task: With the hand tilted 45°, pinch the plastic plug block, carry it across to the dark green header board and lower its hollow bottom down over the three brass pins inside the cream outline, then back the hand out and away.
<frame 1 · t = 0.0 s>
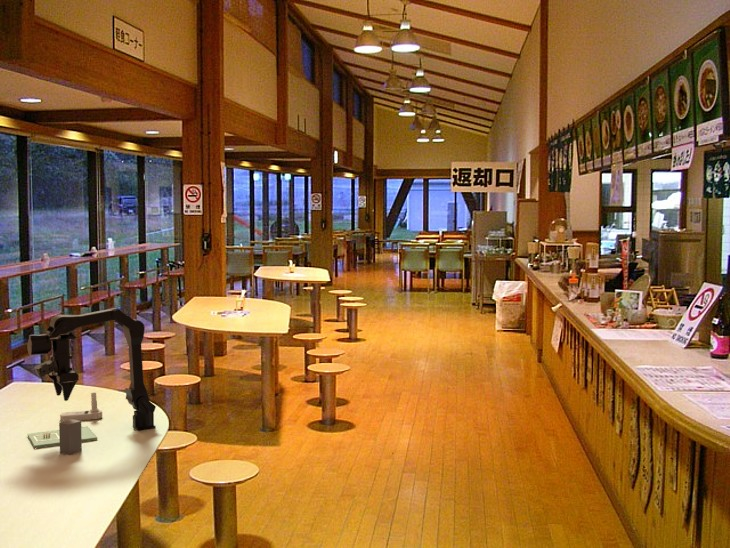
hand: (62, 398, 270), 15 cm above the table, tool pointing down, fingers open, 9 cm apart
beige bar with post: (81, 419, 299), on the table
plug block: (70, 452, 258), on the table
header board: (46, 440, 271), on the table
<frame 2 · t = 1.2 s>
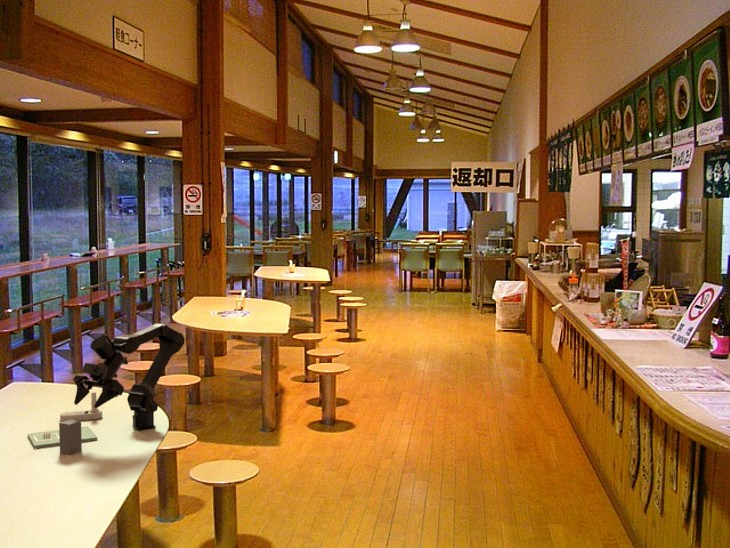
hand: (85, 405, 262), 14 cm above the table, tool tilted 45°, fingers open, 9 cm apart
nothing on the table moved.
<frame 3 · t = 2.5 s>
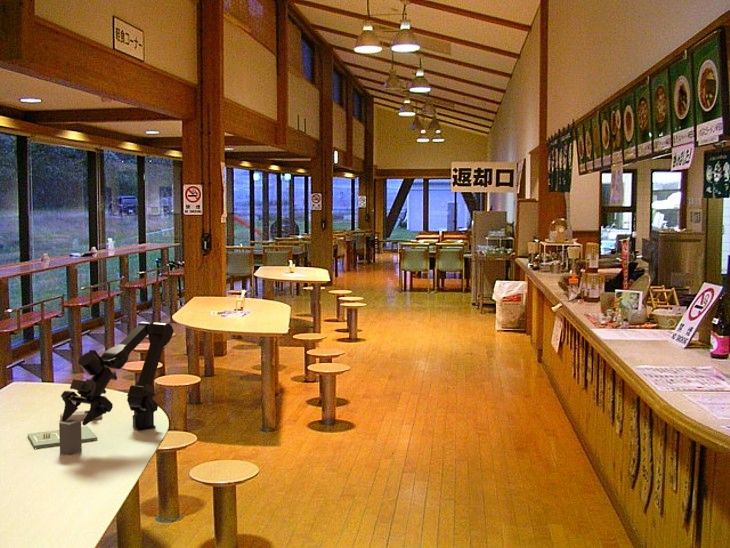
hand: (72, 423, 258), 9 cm above the table, tool tilted 45°, fingers open, 9 cm apart
nothing on the table moved.
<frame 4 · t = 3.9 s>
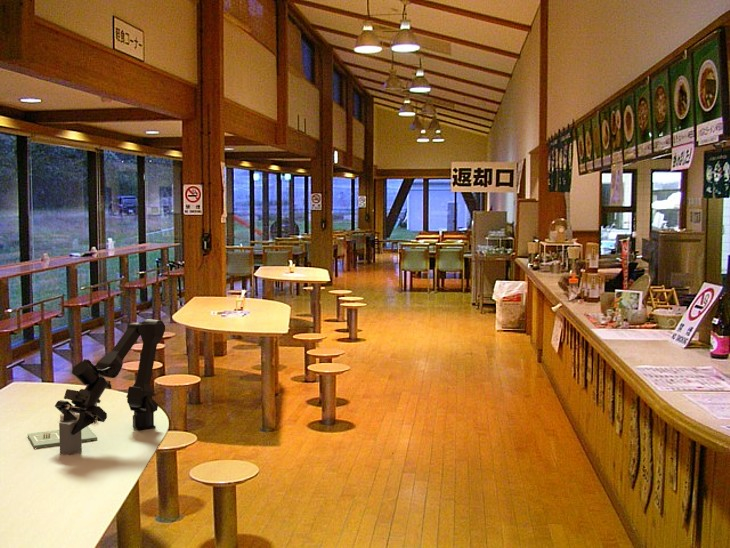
hand: (67, 433, 256), 7 cm above the table, tool tilted 45°, fingers closed on plug block, 4 cm apart
plug block: (70, 452, 258), on the table, touching gripper
everything else where it was.
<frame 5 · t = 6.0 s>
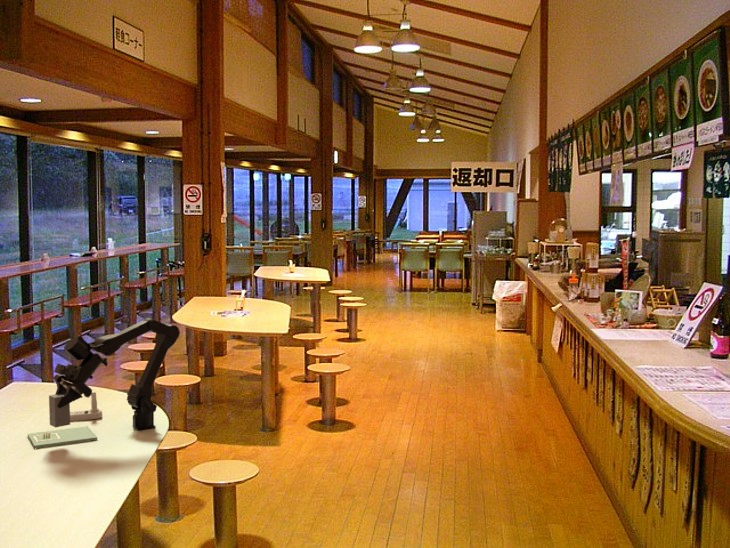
hand: (55, 406, 264), 13 cm above the table, tool tilted 45°, fingers closed on plug block, 4 cm apart
plug block: (60, 424, 265), point 7 cm above the table, touching gripper
everything else where it was.
when the fingers open (8 cm above the table, at t = 8.5 s): plug block stays where it is, resting on header board.
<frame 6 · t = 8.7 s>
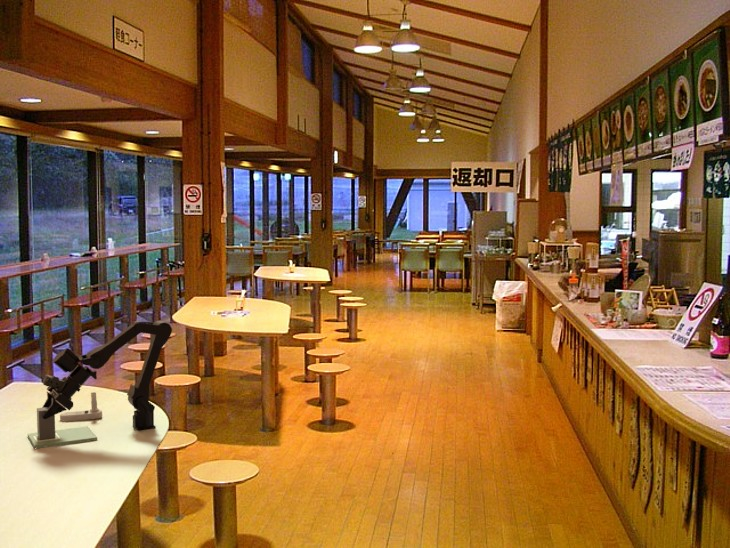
hand: (41, 416, 269), 9 cm above the table, tool tilted 45°, fingers open, 6 cm apart
plug block: (46, 437, 270), point 1 cm above the table, touching header board
everything else where it was.
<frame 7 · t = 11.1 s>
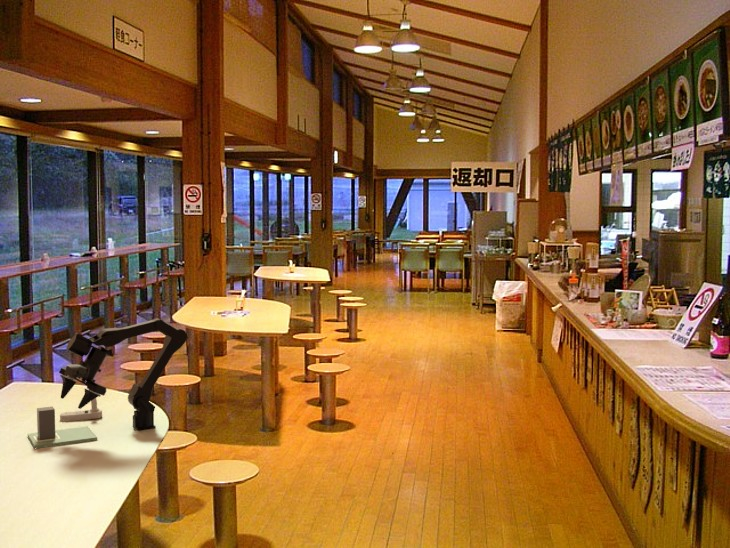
hand: (70, 403, 273), 12 cm above the table, tool tilted 30°, fingers open, 9 cm apart
nothing on the table moved.
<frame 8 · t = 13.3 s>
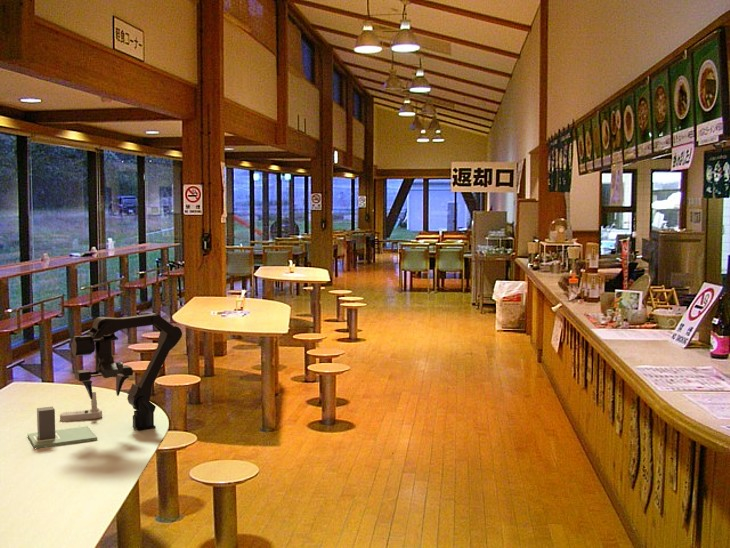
hand: (104, 397, 278), 13 cm above the table, tool pointing down, fingers open, 9 cm apart
nothing on the table moved.
at the end: plug block 0.1 cm off-centre on the header board, point 1.0 cm above the header board's base; plug block tilted 0°; the gripper is holding nothing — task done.
